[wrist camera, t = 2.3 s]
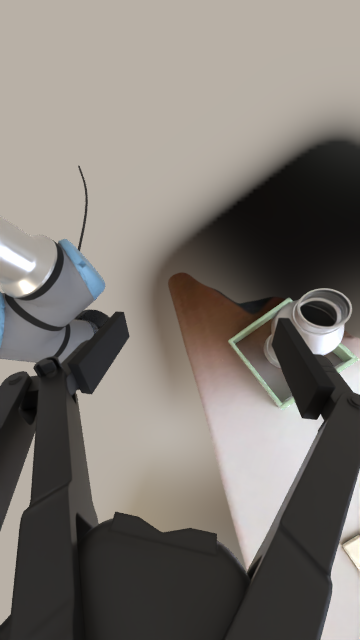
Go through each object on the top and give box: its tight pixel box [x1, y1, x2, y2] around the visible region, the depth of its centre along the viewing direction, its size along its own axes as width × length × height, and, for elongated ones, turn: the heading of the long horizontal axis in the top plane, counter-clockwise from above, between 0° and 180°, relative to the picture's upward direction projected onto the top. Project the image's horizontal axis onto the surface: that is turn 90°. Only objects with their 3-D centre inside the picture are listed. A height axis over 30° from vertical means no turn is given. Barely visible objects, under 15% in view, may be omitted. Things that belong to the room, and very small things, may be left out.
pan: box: [228, 298, 359, 410], centre depth 29 cm, size 23×13×3 cm, turn 32°
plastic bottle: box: [264, 288, 352, 368], centre depth 24 cm, size 6×7×20 cm
